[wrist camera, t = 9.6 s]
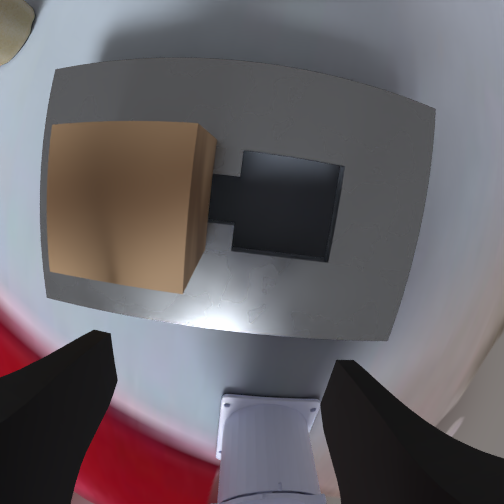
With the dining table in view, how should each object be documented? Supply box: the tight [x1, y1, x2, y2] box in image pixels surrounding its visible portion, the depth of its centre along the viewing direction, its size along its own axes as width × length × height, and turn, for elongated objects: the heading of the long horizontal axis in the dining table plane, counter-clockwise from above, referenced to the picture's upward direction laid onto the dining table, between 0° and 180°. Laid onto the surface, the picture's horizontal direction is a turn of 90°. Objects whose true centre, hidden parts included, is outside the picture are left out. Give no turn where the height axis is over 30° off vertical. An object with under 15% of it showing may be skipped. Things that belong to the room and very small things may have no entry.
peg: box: [47, 121, 217, 294], centre depth 12 cm, size 5×5×7 cm
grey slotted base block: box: [40, 58, 436, 341], centre depth 15 cm, size 13×20×4 cm, turn 83°
